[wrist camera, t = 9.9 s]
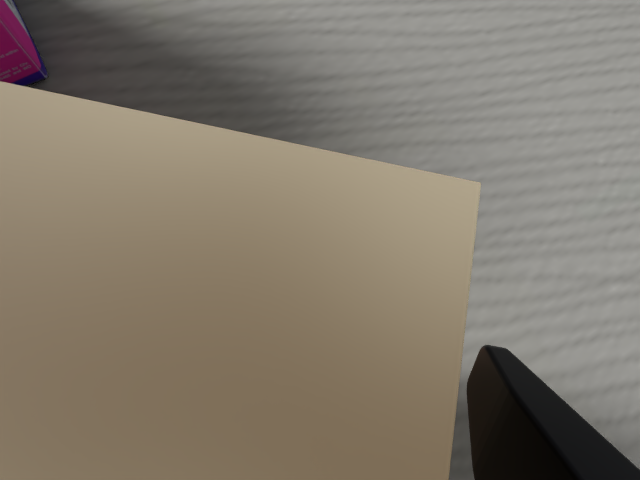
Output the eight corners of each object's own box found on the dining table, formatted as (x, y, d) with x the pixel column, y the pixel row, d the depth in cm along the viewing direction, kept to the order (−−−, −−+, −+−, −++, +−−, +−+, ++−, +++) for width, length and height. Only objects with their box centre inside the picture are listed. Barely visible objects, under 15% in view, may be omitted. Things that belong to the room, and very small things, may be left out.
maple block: (306, 500, 16) (405, 882, 3) (144, 467, 16) (-366, 732, 3) (336, 336, 17) (481, 182, 5) (188, 306, 17) (-49, 70, 5)
